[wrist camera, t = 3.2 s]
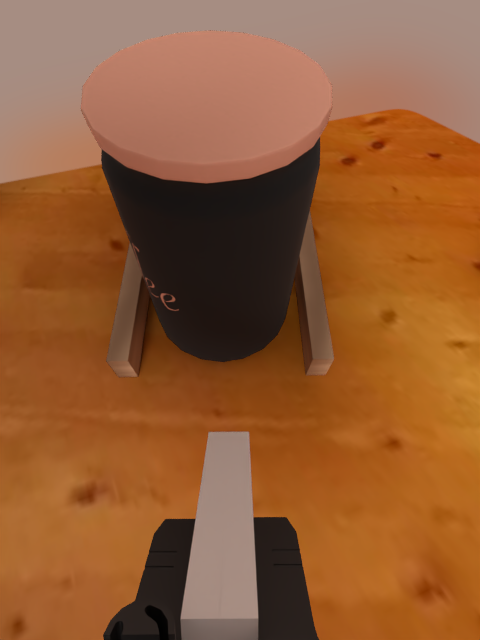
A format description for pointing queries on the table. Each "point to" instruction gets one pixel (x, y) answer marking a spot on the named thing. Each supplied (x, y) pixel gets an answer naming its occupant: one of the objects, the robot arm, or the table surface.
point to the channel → (309, 298)
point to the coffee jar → (212, 177)
